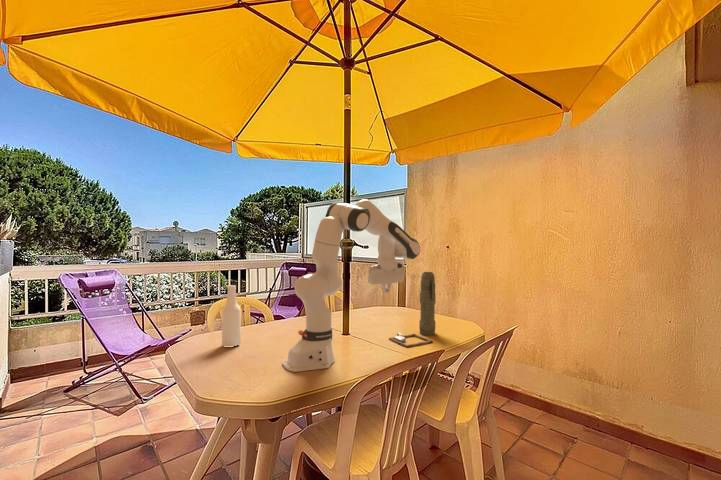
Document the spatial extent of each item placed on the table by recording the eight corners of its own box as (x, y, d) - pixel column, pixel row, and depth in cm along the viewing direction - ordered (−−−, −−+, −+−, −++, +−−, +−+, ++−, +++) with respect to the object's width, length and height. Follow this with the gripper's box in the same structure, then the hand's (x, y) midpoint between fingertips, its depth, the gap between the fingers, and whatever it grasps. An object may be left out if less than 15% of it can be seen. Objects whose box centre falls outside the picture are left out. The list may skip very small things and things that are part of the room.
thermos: (428, 337, 189) (429, 273, 189) (414, 331, 199) (415, 271, 199) (440, 334, 194) (441, 272, 194) (426, 329, 204) (426, 271, 204)
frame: (406, 347, 171) (406, 345, 171) (389, 339, 184) (389, 338, 184) (432, 342, 179) (432, 340, 179) (413, 335, 192) (413, 333, 192)
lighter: (400, 339, 178) (389, 334, 184) (400, 342, 179) (389, 338, 185) (409, 336, 183) (398, 331, 189) (409, 339, 183) (398, 334, 189)
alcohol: (220, 349, 166) (220, 287, 166) (223, 343, 175) (223, 284, 175) (239, 347, 168) (239, 286, 168) (241, 342, 177) (242, 284, 177)
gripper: (372, 266, 165) (372, 294, 165) (406, 264, 175) (405, 291, 175) (365, 265, 170) (365, 293, 170) (398, 263, 181) (398, 289, 181)
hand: (386, 292), depth 173 cm, fingers closed
